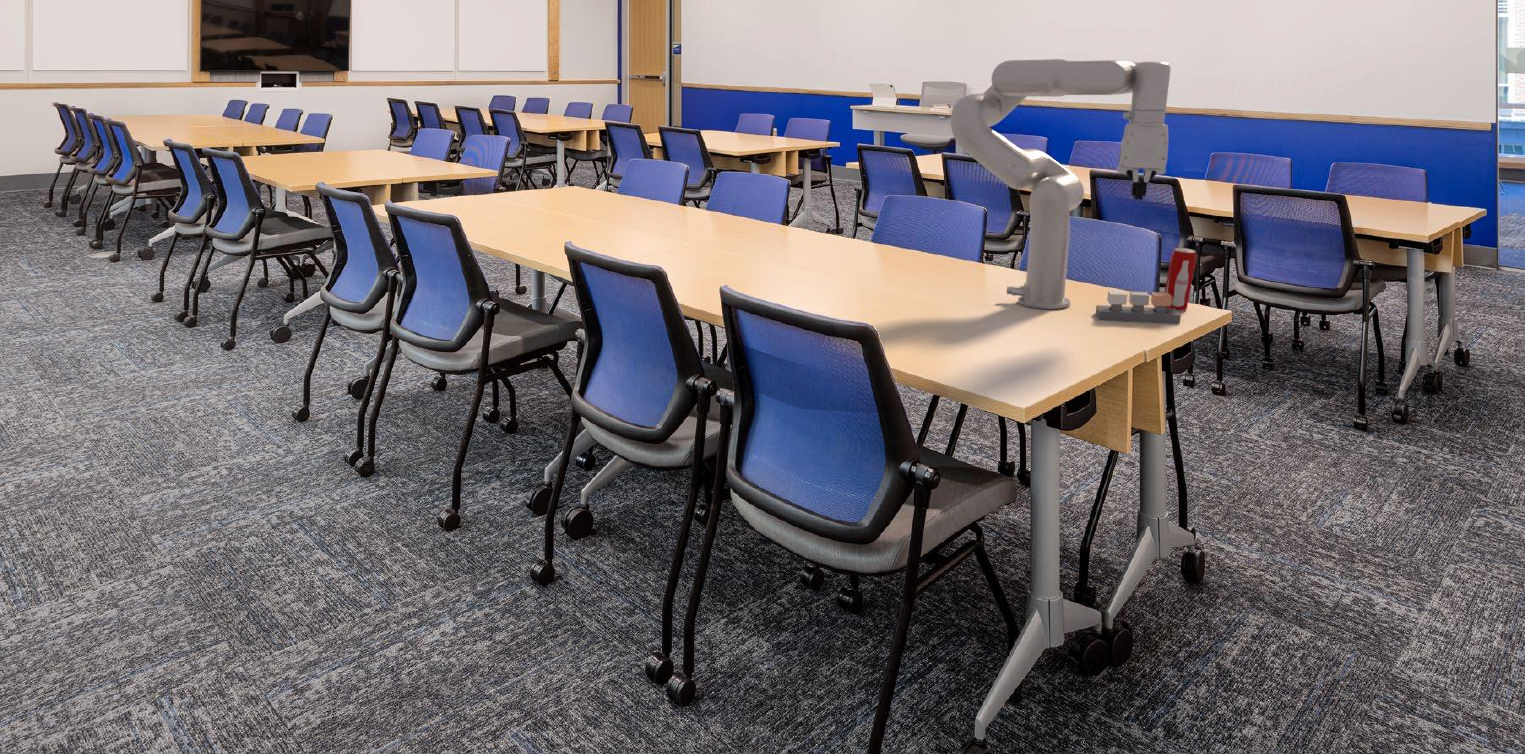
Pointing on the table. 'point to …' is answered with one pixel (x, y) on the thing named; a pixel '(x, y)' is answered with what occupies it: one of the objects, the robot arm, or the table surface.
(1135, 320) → the grey key base
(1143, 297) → the key grey
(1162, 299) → the key terracotta
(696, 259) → the table surface
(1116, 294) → the key white
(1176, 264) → the beverage can
